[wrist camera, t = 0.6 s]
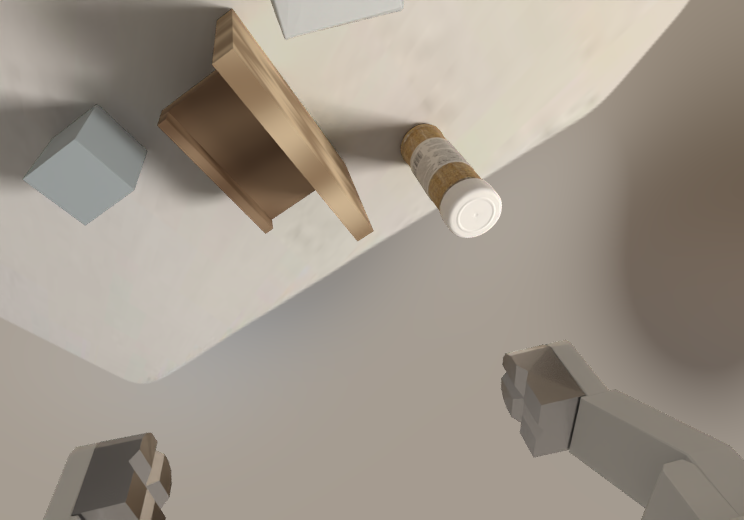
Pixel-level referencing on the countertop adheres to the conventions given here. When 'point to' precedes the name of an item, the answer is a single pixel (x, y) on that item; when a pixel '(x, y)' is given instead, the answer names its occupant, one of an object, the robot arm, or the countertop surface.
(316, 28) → the supplement box
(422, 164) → the sprinkles bottle
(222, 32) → the wall board
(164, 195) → the countertop surface
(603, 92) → the countertop surface
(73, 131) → the cabinet box
